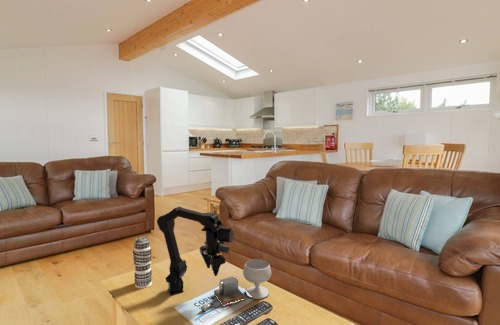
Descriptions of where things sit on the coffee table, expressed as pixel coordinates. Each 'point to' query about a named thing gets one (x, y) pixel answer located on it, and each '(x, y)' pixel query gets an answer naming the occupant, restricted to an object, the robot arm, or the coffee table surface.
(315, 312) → the coffee table surface
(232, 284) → the block
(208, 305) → the loose bolt
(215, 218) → the robot arm
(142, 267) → the grey striped cylinder
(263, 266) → the chalice
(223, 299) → the plinth
